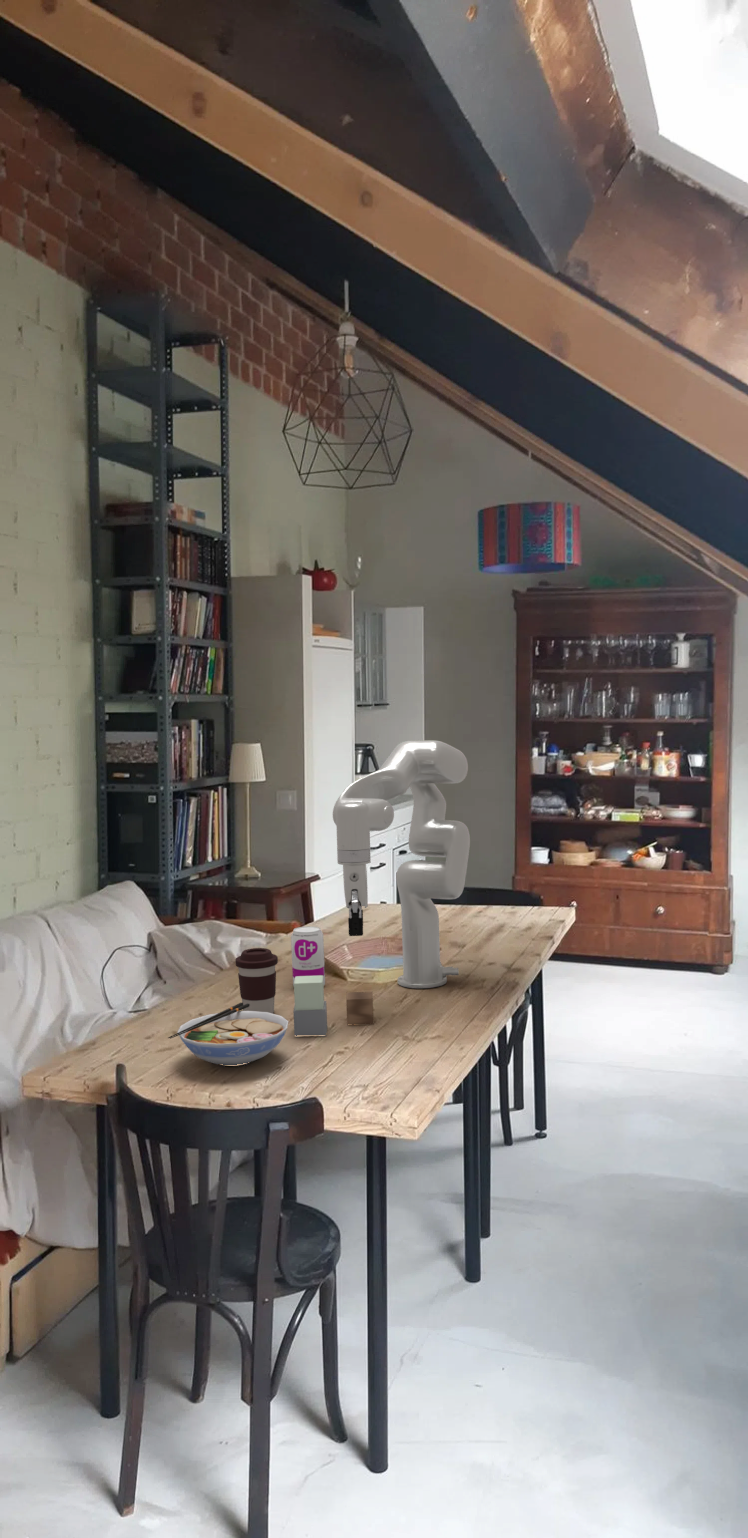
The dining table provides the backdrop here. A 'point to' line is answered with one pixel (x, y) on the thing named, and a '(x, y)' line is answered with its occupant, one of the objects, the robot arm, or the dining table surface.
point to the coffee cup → (257, 979)
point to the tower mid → (309, 992)
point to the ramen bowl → (233, 1035)
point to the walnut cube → (359, 1008)
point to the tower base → (310, 1021)
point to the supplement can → (307, 952)
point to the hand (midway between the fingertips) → (356, 931)
